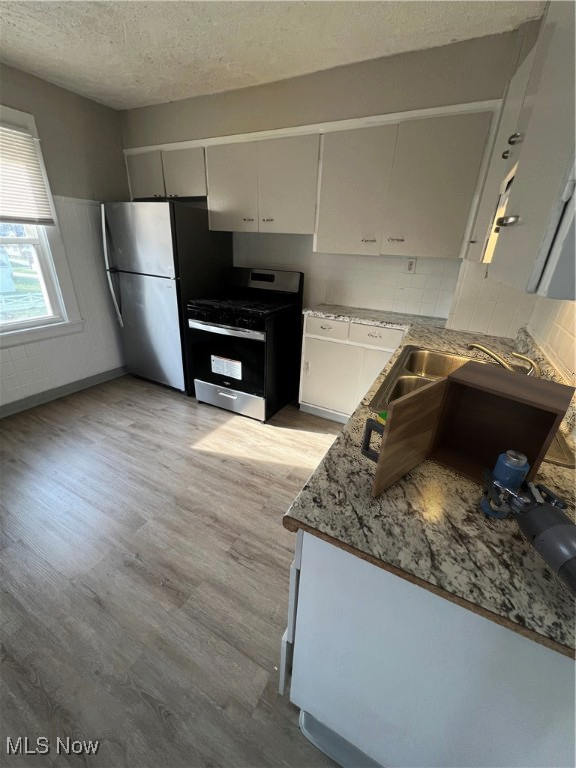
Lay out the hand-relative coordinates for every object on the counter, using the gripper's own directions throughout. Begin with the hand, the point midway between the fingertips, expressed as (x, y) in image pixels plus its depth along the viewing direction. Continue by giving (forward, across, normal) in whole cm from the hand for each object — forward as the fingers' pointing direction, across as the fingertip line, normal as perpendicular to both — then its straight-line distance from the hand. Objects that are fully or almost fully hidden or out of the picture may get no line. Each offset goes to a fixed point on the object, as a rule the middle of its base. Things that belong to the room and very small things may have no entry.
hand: (498, 472), depth 67 cm
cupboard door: (+9, +19, +8) cm, 23 cm away
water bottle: (-3, 0, +8) cm, 8 cm away
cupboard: (+12, -5, +8) cm, 16 cm away
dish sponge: (+28, +11, +8) cm, 31 cm away
